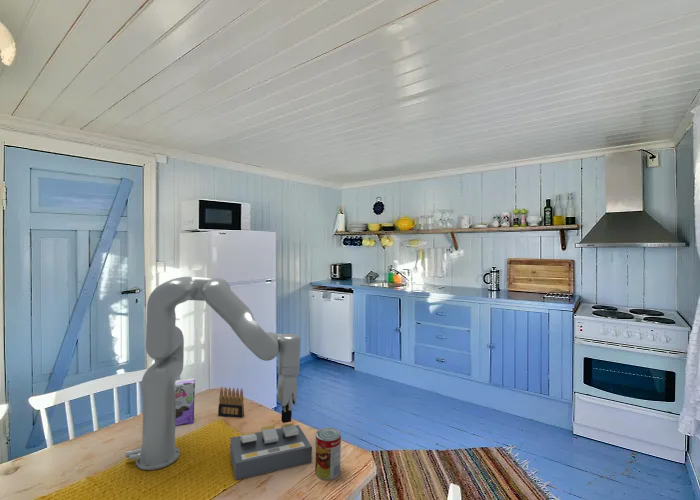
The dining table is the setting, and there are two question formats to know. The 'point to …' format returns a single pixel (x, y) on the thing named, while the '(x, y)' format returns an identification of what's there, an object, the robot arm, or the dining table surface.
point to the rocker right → (289, 429)
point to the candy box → (184, 401)
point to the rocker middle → (269, 434)
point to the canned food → (328, 453)
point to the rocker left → (248, 437)
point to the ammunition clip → (231, 403)
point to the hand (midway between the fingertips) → (286, 421)
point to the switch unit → (269, 454)
